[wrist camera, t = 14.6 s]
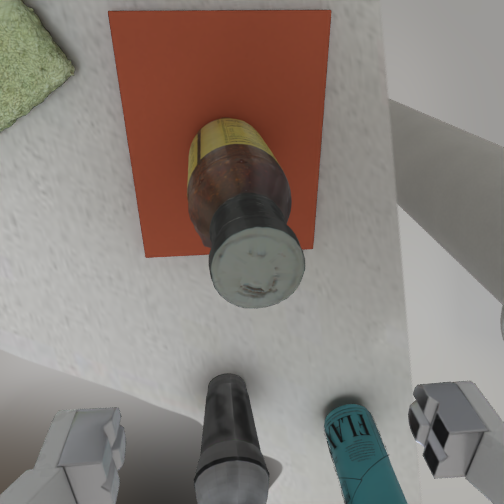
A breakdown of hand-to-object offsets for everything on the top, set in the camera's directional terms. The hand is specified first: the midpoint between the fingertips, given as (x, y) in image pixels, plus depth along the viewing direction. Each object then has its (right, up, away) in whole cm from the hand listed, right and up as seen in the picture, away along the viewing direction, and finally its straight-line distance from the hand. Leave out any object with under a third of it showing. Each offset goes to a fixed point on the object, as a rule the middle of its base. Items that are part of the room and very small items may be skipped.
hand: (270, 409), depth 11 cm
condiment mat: (-3, +13, +24) cm, 27 cm away
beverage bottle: (+11, -16, +42) cm, 47 cm away
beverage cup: (-4, -12, +38) cm, 40 cm away
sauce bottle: (-3, +13, +23) cm, 27 cm away
